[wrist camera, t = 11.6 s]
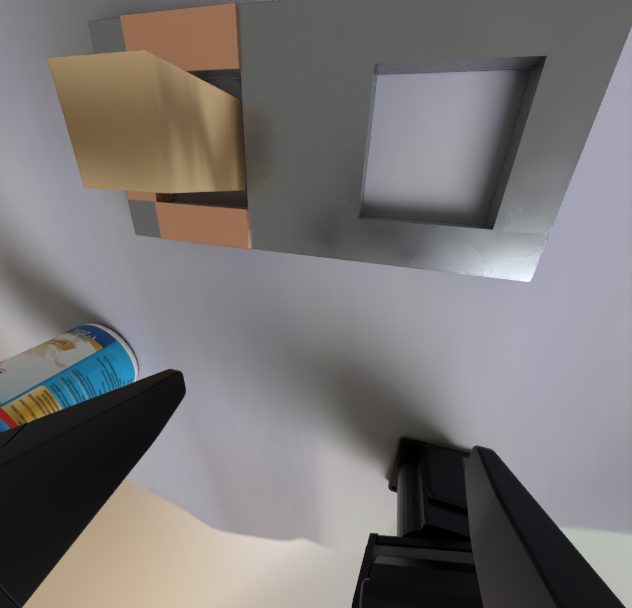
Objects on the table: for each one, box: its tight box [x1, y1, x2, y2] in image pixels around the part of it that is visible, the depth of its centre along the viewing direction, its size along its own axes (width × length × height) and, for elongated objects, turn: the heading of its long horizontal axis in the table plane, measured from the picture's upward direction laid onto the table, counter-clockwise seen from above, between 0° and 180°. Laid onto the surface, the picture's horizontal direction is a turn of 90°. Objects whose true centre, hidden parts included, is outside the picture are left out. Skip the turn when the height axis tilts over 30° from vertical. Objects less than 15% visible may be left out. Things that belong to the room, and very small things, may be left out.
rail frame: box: [88, 0, 632, 282], centre depth 16 cm, size 12×26×2 cm, turn 87°
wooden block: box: [48, 50, 246, 193], centre depth 15 cm, size 5×5×7 cm
